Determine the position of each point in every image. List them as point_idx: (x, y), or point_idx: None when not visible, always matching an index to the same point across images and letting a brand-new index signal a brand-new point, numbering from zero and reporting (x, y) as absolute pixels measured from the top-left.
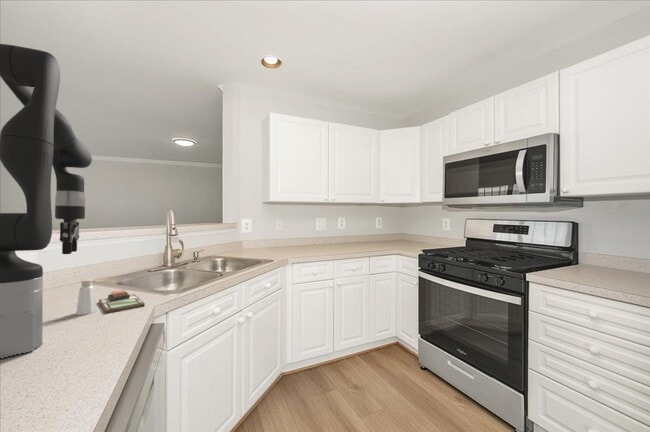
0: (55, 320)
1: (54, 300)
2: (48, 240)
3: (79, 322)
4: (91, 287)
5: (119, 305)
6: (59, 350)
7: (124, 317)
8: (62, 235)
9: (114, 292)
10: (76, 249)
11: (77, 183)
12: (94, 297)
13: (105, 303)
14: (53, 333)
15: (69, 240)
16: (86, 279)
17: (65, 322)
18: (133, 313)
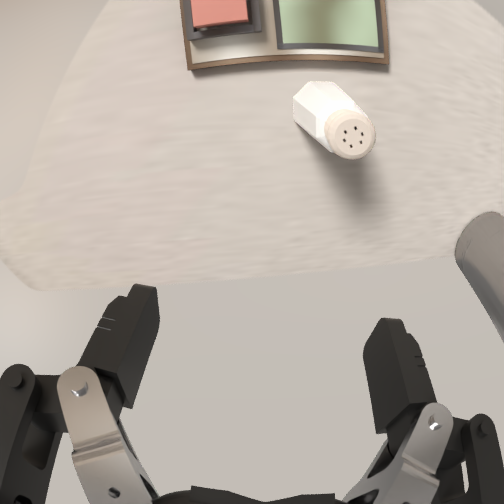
0: (347, 185)
1: (83, 204)
2: None
3: (419, 138)
4: (360, 110)
5: (357, 18)
6: None
7: (459, 43)
8: (449, 483)
9: (221, 14)
10: (150, 297)
11: None
12: (344, 92)
13: (281, 49)
14: (454, 193)
15: (483, 417)
16: (340, 137)
17: (390, 165)
18: (438, 12)
